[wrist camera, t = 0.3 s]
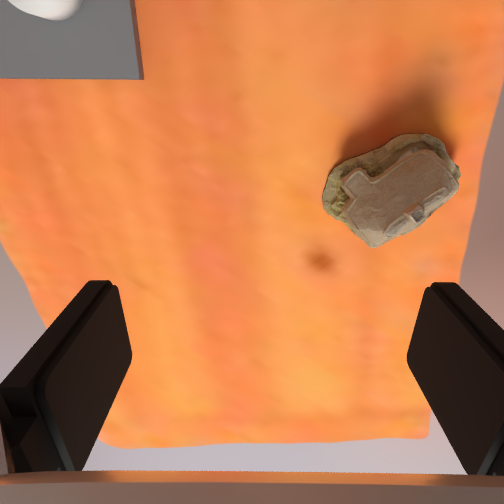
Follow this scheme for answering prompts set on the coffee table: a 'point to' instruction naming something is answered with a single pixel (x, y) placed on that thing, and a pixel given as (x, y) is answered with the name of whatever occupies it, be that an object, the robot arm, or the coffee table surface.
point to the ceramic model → (391, 187)
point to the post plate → (69, 40)
